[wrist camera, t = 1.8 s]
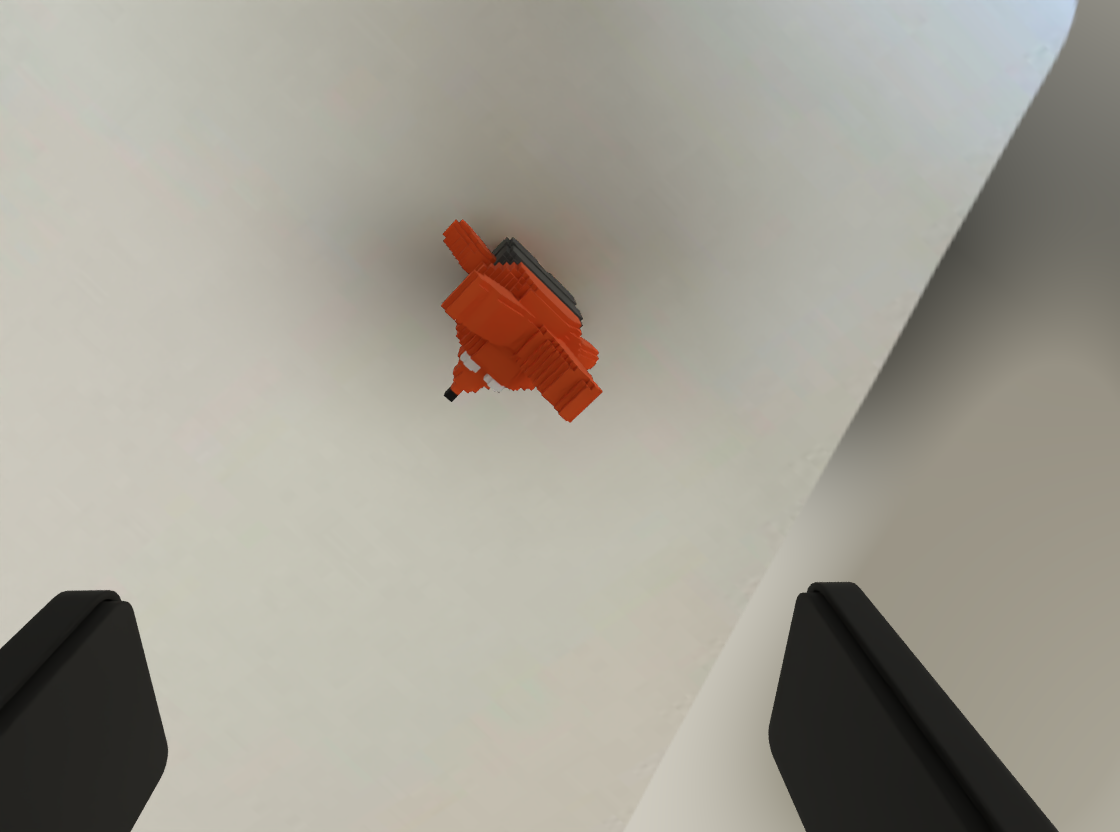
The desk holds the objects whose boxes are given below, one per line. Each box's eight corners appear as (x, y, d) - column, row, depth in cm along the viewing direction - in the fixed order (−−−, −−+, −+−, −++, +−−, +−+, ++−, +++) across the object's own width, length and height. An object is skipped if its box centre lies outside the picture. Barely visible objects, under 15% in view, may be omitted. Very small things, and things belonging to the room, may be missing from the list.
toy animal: (399, 280, 30) (334, 355, 19) (477, 194, 29) (457, 220, 18) (522, 390, 33) (528, 513, 22) (598, 315, 31) (646, 404, 20)
